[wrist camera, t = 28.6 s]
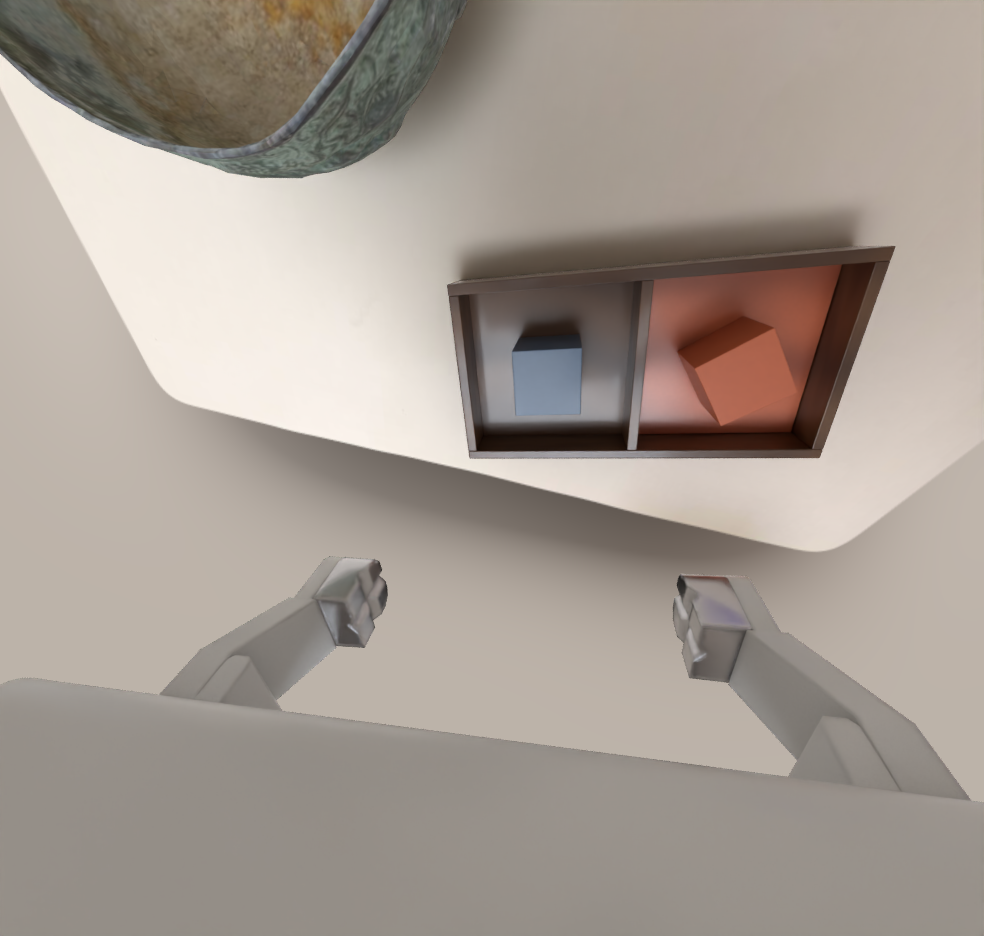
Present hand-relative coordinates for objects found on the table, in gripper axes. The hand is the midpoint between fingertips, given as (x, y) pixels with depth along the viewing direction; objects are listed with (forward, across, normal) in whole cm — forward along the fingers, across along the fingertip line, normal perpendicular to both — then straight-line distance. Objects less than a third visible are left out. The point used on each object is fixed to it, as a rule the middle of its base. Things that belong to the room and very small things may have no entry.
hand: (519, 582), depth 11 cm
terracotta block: (+22, -12, 0) cm, 25 cm away
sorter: (+23, -6, 0) cm, 24 cm away
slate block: (+22, 0, 0) cm, 22 cm away
